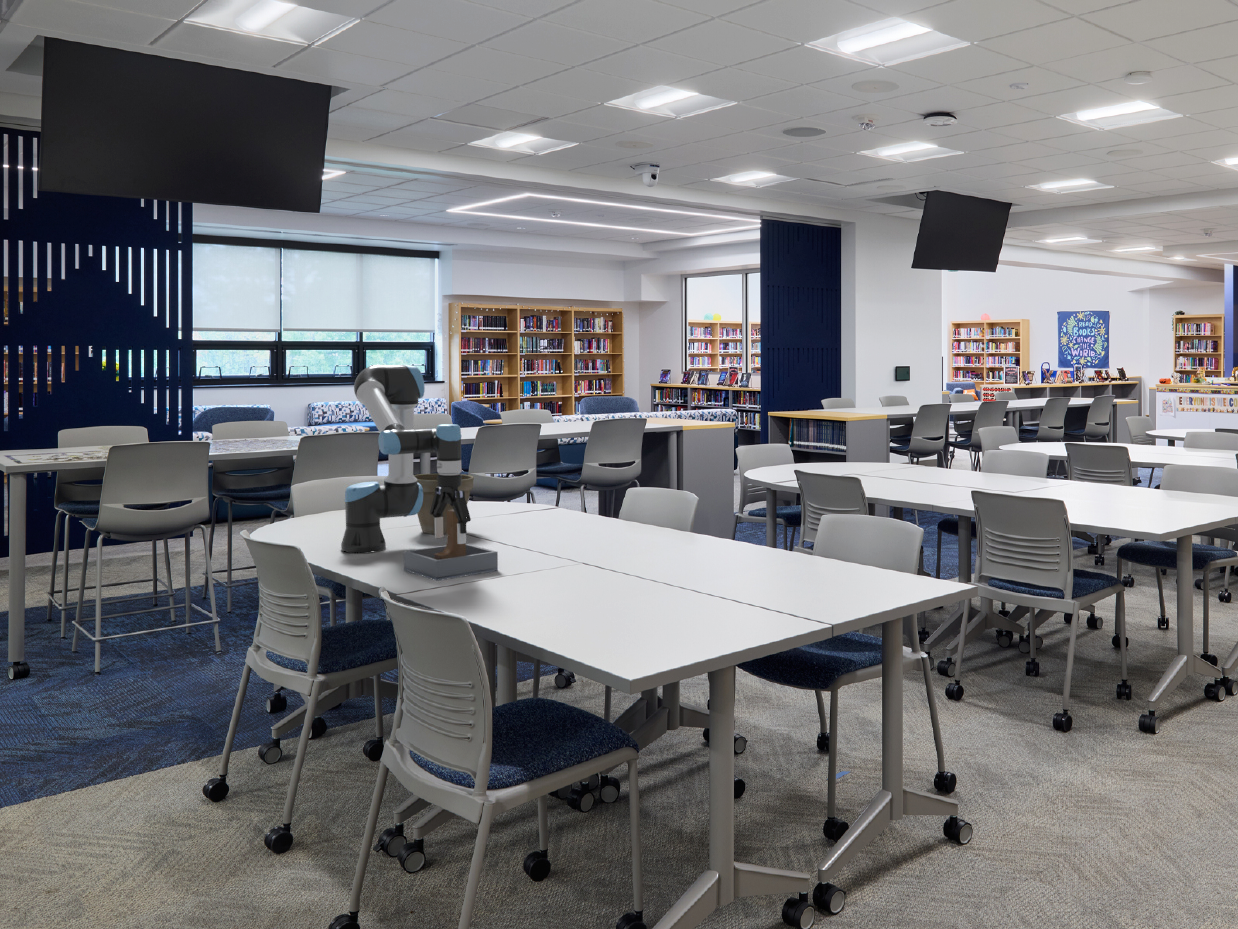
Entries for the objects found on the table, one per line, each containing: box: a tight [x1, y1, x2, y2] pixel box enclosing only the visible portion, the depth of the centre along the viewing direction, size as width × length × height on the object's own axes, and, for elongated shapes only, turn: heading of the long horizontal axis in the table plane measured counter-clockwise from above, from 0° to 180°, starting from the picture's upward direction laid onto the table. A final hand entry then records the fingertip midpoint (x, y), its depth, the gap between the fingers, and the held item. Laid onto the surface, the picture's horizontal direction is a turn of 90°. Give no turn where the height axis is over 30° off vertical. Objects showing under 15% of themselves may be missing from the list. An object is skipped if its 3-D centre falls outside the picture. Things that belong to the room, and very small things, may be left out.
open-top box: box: [403, 543, 499, 581], centre depth 302 cm, size 20×22×6 cm
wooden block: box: [435, 510, 467, 560], centre depth 301 cm, size 9×4×18 cm, turn 129°
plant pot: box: [413, 473, 475, 535], centre depth 372 cm, size 25×25×22 cm
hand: (450, 540), depth 302 cm, fingers open, 13 cm apart
